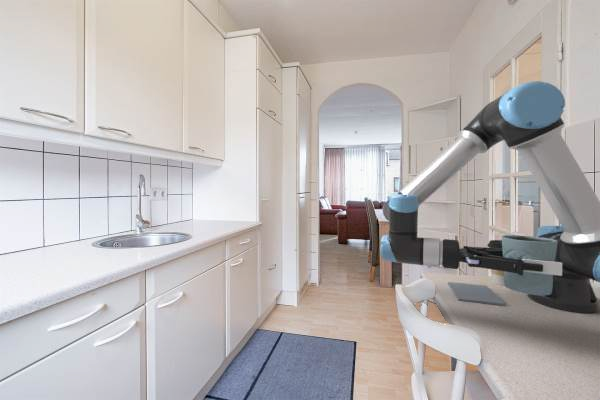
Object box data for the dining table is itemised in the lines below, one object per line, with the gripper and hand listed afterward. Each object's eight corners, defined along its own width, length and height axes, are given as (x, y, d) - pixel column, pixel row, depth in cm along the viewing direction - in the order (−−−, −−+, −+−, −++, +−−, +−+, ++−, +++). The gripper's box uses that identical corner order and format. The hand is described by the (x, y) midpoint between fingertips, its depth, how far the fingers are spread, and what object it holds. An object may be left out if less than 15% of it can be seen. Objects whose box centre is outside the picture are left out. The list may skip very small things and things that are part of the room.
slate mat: (486, 287, 93) (486, 285, 93) (505, 306, 78) (505, 303, 78) (447, 283, 97) (447, 281, 97) (458, 300, 82) (458, 298, 82)
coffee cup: (527, 286, 94) (528, 244, 94) (506, 289, 92) (507, 245, 91) (499, 278, 104) (500, 239, 103) (479, 280, 101) (480, 240, 100)
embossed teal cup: (513, 294, 60) (514, 240, 60) (492, 279, 70) (493, 233, 70) (568, 298, 58) (569, 242, 57) (538, 283, 68) (539, 235, 67)
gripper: (440, 258, 82) (535, 267, 72) (442, 279, 62) (573, 296, 52) (440, 233, 81) (536, 239, 71) (442, 246, 62) (575, 257, 52)
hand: (552, 263), depth 62 cm, fingers closed on embossed teal cup, 9 cm apart
